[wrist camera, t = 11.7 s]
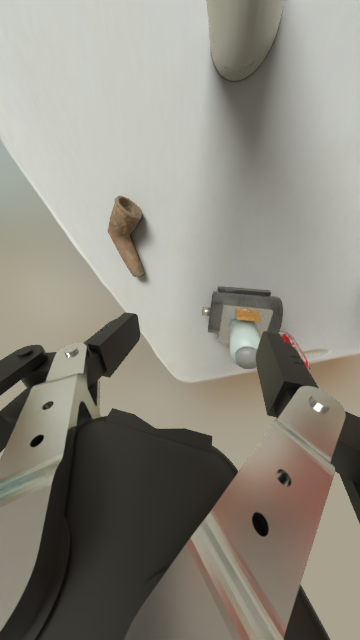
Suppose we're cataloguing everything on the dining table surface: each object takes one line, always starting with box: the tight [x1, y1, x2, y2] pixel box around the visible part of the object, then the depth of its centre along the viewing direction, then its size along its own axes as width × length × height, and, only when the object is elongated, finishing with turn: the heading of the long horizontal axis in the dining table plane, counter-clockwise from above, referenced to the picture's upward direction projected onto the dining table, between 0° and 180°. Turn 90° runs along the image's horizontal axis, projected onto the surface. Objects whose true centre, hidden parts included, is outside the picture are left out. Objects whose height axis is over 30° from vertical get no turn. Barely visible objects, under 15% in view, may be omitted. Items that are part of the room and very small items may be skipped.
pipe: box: [108, 196, 144, 277], centre depth 38 cm, size 6×17×10 cm
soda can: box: [278, 332, 310, 372], centre depth 39 cm, size 7×7×12 cm
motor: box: [202, 286, 283, 346], centre depth 36 cm, size 10×16×14 cm, turn 90°
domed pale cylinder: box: [230, 319, 260, 369], centre depth 29 cm, size 5×5×9 cm
